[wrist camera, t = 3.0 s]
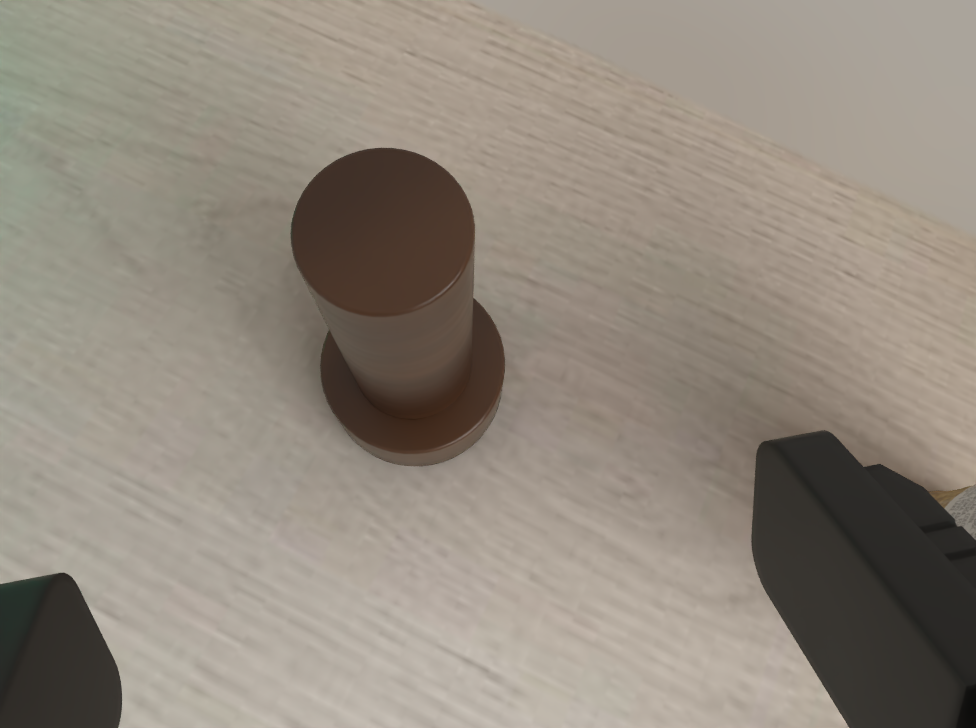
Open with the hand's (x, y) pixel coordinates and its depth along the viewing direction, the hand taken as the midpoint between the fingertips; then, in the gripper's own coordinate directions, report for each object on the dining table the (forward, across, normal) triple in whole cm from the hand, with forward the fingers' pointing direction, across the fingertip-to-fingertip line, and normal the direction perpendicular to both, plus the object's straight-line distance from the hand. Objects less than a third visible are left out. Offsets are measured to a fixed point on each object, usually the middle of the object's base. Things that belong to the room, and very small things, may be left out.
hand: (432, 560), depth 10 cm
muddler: (+11, 0, +4) cm, 12 cm away
